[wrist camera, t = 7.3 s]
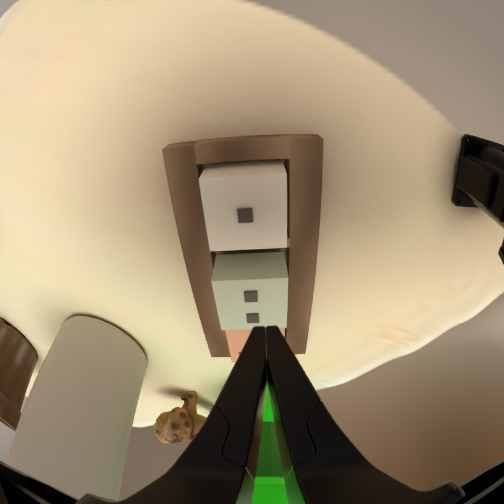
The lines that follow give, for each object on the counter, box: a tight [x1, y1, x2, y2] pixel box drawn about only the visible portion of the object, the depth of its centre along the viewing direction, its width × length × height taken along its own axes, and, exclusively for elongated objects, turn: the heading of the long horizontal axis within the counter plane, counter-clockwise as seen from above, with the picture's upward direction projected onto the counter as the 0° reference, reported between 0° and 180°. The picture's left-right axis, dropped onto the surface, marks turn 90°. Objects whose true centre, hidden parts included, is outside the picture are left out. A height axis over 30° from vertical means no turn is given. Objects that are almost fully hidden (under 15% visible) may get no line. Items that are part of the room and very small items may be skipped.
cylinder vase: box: [7, 316, 147, 501], centre depth 20 cm, size 12×12×25 cm
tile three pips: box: [225, 328, 285, 362], centre depth 25 cm, size 5×5×3 cm
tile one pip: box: [199, 160, 287, 251], centre depth 17 cm, size 5×5×3 cm
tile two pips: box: [211, 252, 288, 330], centre depth 20 cm, size 5×5×3 cm
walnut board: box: [162, 134, 323, 357], centre depth 22 cm, size 10×21×2 cm, turn 4°
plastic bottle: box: [252, 385, 288, 504], centre depth 25 cm, size 10×10×25 cm
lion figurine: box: [154, 391, 207, 444], centre depth 34 cm, size 15×5×9 cm, turn 47°
